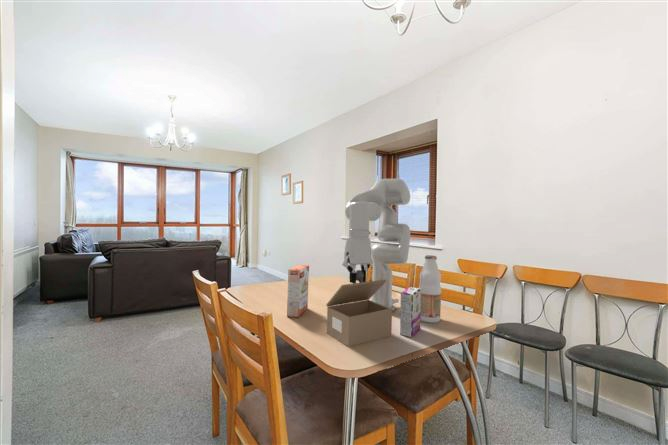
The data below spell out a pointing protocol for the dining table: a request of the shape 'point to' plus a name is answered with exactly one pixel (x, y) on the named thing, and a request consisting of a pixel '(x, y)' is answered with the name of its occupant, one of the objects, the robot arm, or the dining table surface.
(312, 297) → the dining table surface
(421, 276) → the fruit juice
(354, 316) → the carton
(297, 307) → the cracker box
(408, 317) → the candy bar box
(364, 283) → the carton lid
